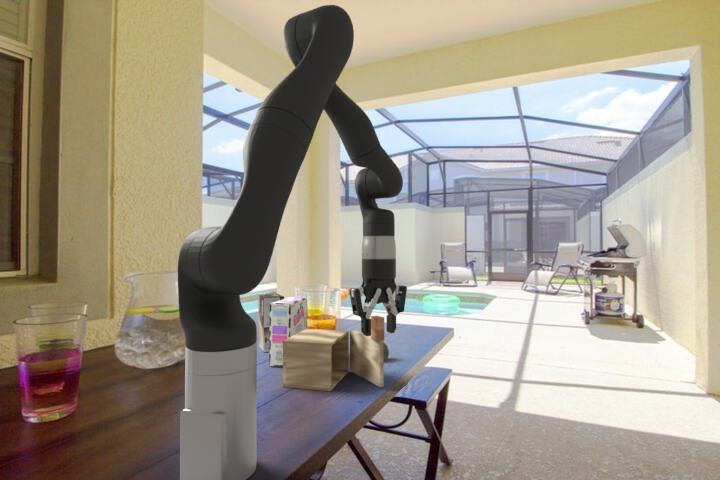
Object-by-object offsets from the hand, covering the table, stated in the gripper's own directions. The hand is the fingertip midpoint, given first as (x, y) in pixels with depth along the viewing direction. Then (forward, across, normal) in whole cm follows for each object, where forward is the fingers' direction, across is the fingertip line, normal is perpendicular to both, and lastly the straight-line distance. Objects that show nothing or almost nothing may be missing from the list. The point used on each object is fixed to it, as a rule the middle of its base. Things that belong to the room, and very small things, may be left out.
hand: (379, 333), depth 89 cm
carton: (+12, -9, +12) cm, 19 cm away
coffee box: (+12, -9, +46) cm, 48 cm away
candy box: (+12, -9, +30) cm, 34 cm away
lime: (+12, +12, +17) cm, 24 cm away
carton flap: (+11, 0, +5) cm, 12 cm away
